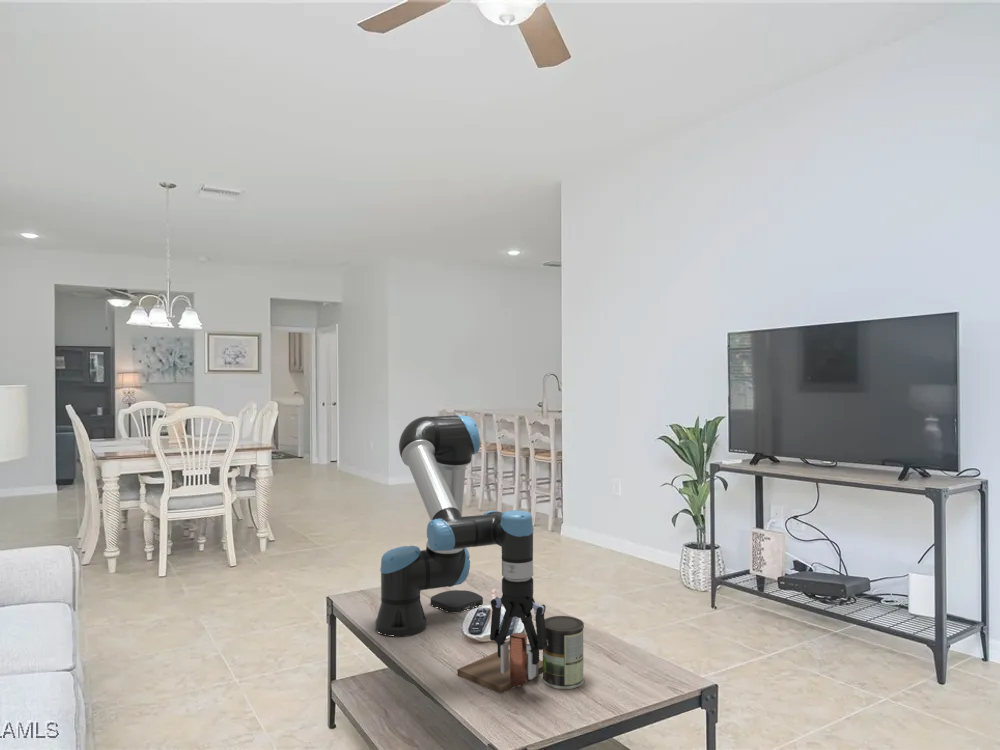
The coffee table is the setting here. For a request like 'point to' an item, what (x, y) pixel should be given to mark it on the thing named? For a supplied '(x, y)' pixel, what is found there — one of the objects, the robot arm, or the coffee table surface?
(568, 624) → the coffee can
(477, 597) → the media streaming box
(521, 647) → the lever
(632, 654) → the coffee table surface
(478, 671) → the board
